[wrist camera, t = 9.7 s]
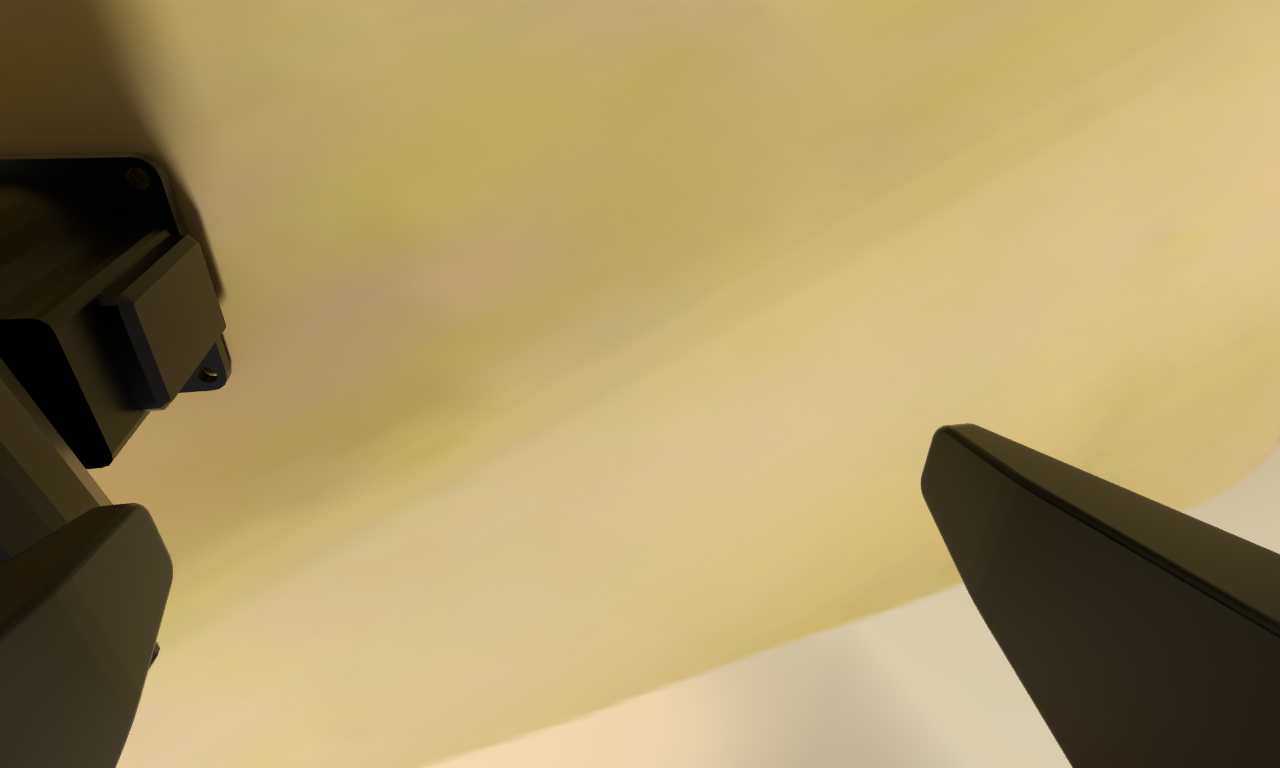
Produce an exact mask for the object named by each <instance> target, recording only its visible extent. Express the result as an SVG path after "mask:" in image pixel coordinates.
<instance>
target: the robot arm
mask: <svg viewBox="0 0 1280 768" xmlns="http://www.w3.org/2000/svg"><path fill="white" fill-rule="evenodd" d="M134 167H135V168H140V169H142V170H143V171H145V172H146V173H147V174H148V176H149V178H150V184H149V185H147V184H142V183H141V182H139V181H138V180H137V179H136V178H135V176H134V175H133V168H134ZM225 328H226V324H225V321H224V318H223V314H222V311H221V308H220V305H219V302H218V299H217V296H216V293H215V290H214V287H213V283H212V280H211V277H210V274H209V271H208V268H207V265H206V262H205V259H204V256H203V252H202V249H201V246H200V244H199V243H198V242H197V241H196V240H195V239H193V238H192V237H191V236H190V235H187V232H186V229H185V226H184V223H183V220H182V217H181V214H180V211H179V208H178V205H177V202H176V199H175V196H174V193H173V190H172V187H171V184H170V180H169V177H168V174H167V172H166V170H165V169H164V167H163V165H162V164H161V163H159V162H158V161H157V160H156V159H155V158H153V157H151V156H149V155H146V154H140V153H118V154H65V155H12V156H0V768H116V766H117V763H118V760H119V758H120V755H121V753H122V750H123V748H124V745H125V743H126V740H127V737H128V735H129V732H130V729H131V726H132V724H133V721H134V718H135V715H136V711H137V708H138V705H139V702H140V698H141V695H142V691H143V688H144V684H145V680H146V677H147V673H148V671H149V669H150V667H151V666H152V664H153V663H154V661H155V659H156V657H157V656H158V653H159V649H160V647H159V644H158V643H157V641H156V640H157V636H158V632H159V629H160V625H161V621H162V617H163V614H164V610H165V606H166V603H167V599H168V595H169V592H170V588H171V584H172V579H173V565H172V561H171V558H170V555H169V553H168V551H167V549H166V547H165V544H164V542H163V540H162V538H161V536H160V534H159V532H158V529H157V527H156V525H155V523H154V521H153V519H152V517H151V515H150V513H149V511H148V510H147V509H146V508H145V507H144V506H142V505H140V504H137V503H129V504H118V505H113V504H112V503H111V502H110V500H109V499H108V498H107V496H106V495H105V494H104V492H103V491H102V490H101V488H100V487H99V486H98V485H97V483H96V482H95V481H94V479H93V478H92V477H91V475H90V474H89V473H88V471H87V470H86V469H94V468H102V467H106V466H109V465H110V464H111V462H112V461H113V460H114V458H115V457H116V456H117V455H118V453H119V452H120V451H121V449H122V448H123V447H124V445H125V444H126V443H127V441H128V440H129V439H130V437H131V436H132V435H133V433H134V432H135V431H136V430H137V428H138V427H139V426H140V424H141V423H142V422H143V420H144V419H145V418H146V416H147V415H148V414H149V412H150V411H156V410H164V409H166V408H167V407H168V406H169V404H170V403H171V402H172V401H173V400H174V398H175V397H176V396H177V394H178V393H183V392H197V391H210V390H216V389H220V388H221V387H223V386H224V385H225V384H226V382H227V380H228V379H229V377H230V375H231V365H230V362H229V359H228V356H227V353H226V350H225V347H224V344H223V341H222V338H221V334H222V332H223V331H224V330H225ZM204 367H206V368H211V369H213V370H214V371H215V372H216V373H217V376H210V375H208V374H206V373H205V372H204V371H203V369H202V368H204ZM921 490H922V494H923V497H924V500H925V502H926V504H927V506H928V508H929V510H930V512H931V515H932V517H933V519H934V521H935V523H936V525H937V527H938V529H939V531H940V534H941V536H942V538H943V540H944V542H945V544H946V546H947V548H948V551H949V553H950V555H951V557H952V559H953V561H954V563H955V565H956V568H957V570H958V572H959V574H960V576H961V578H962V580H963V582H964V585H965V586H966V588H967V590H968V592H969V594H970V596H971V598H972V600H973V602H974V604H975V606H976V607H977V609H978V611H979V613H980V614H981V616H982V618H983V620H984V621H985V623H986V624H987V626H988V628H989V629H990V631H991V633H992V635H993V636H994V638H995V640H996V641H997V643H998V645H999V646H1000V648H1001V650H1002V651H1003V653H1004V655H1005V656H1006V658H1007V660H1008V661H1009V663H1010V664H1011V666H1012V668H1013V669H1014V671H1015V673H1016V675H1017V676H1018V678H1019V680H1020V681H1021V683H1022V684H1023V686H1024V688H1025V689H1026V691H1027V693H1028V694H1029V696H1030V698H1031V699H1032V701H1033V703H1034V704H1035V706H1036V708H1037V709H1038V711H1039V712H1040V714H1041V716H1042V718H1043V719H1044V721H1045V723H1046V724H1047V726H1048V728H1049V729H1050V731H1051V733H1052V734H1053V736H1054V737H1055V739H1056V741H1057V743H1058V744H1059V746H1060V748H1061V749H1062V751H1063V753H1064V754H1065V756H1066V758H1067V759H1068V761H1069V763H1070V764H1071V766H1072V768H1280V554H1278V553H1275V552H1273V551H1271V550H1268V549H1266V548H1264V547H1261V546H1259V545H1256V544H1254V543H1252V542H1250V541H1247V540H1245V539H1243V538H1240V537H1238V536H1236V535H1233V534H1231V533H1229V532H1226V531H1224V530H1222V529H1219V528H1217V527H1215V526H1212V525H1210V524H1207V523H1205V522H1203V521H1200V520H1198V519H1196V518H1193V517H1191V516H1189V515H1186V514H1184V513H1182V512H1179V511H1177V510H1175V509H1172V508H1170V507H1168V506H1165V505H1163V504H1160V503H1158V502H1156V501H1153V500H1151V499H1149V498H1146V497H1144V496H1142V495H1139V494H1137V493H1135V492H1132V491H1130V490H1128V489H1125V488H1123V487H1121V486H1118V485H1116V484H1114V483H1111V482H1109V481H1106V480H1104V479H1102V478H1099V477H1097V476H1095V475H1092V474H1090V473H1088V472H1085V471H1083V470H1081V469H1078V468H1076V467H1074V466H1071V465H1069V464H1067V463H1064V462H1062V461H1059V460H1057V459H1055V458H1052V457H1050V456H1048V455H1045V454H1043V453H1041V452H1038V451H1036V450H1034V449H1031V448H1029V447H1027V446H1024V445H1022V444H1020V443H1017V442H1015V441H1013V440H1010V439H1008V438H1005V437H1003V436H1001V435H998V434H996V433H994V432H991V431H989V430H987V429H984V428H982V427H980V426H977V425H974V424H968V423H967V424H956V425H945V426H942V427H940V428H938V429H937V431H936V432H935V433H934V435H933V438H932V442H931V445H930V448H929V452H928V455H927V459H926V462H925V465H924V469H923V472H922V476H921Z"/></svg>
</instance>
